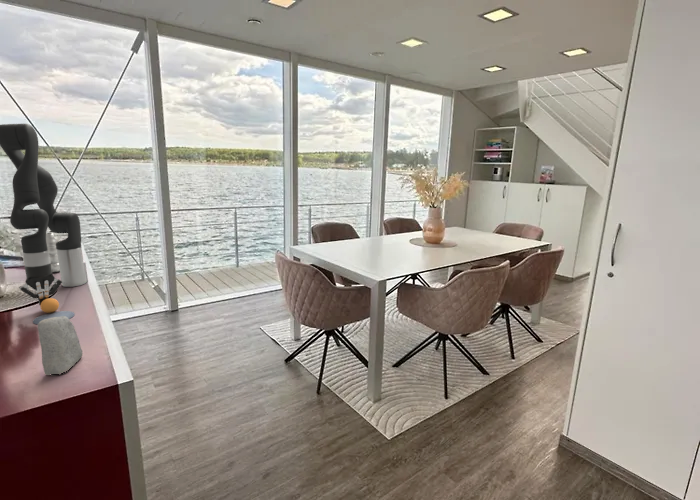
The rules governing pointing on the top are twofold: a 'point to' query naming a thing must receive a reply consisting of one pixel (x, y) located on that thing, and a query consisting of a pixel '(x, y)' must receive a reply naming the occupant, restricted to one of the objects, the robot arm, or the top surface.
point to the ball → (49, 305)
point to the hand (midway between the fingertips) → (44, 306)
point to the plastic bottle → (52, 251)
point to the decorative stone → (58, 344)
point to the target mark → (54, 314)
